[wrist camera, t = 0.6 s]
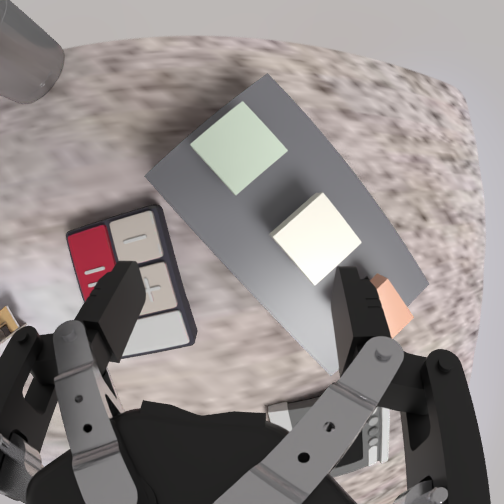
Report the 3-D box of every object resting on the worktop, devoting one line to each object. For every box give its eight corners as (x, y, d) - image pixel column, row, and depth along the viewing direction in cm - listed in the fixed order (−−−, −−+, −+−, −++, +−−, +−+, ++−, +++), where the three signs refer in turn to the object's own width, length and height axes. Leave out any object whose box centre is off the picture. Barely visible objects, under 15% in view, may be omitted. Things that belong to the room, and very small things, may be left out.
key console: (160, 180, 32) (144, 176, 26) (259, 96, 32) (267, 73, 25) (313, 347, 37) (330, 375, 30) (397, 269, 36) (429, 283, 29)
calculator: (154, 203, 30) (195, 347, 31) (163, 204, 34) (198, 333, 36) (61, 232, 29) (103, 364, 31) (78, 230, 33) (114, 350, 35)
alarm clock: (387, 460, 39) (291, 498, 37) (375, 444, 43) (284, 478, 41) (389, 381, 36) (269, 426, 34) (373, 366, 40) (261, 405, 38)
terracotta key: (324, 299, 30) (343, 319, 25) (361, 265, 30) (387, 278, 25) (351, 332, 31) (373, 355, 26) (386, 299, 31) (413, 317, 25)
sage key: (196, 154, 27) (190, 144, 22) (239, 118, 27) (242, 100, 21) (233, 196, 28) (236, 195, 23) (276, 159, 28) (288, 150, 22)
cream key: (263, 229, 29) (272, 236, 23) (304, 193, 28) (322, 192, 23) (298, 270, 30) (315, 285, 24) (338, 234, 29) (361, 242, 24)
